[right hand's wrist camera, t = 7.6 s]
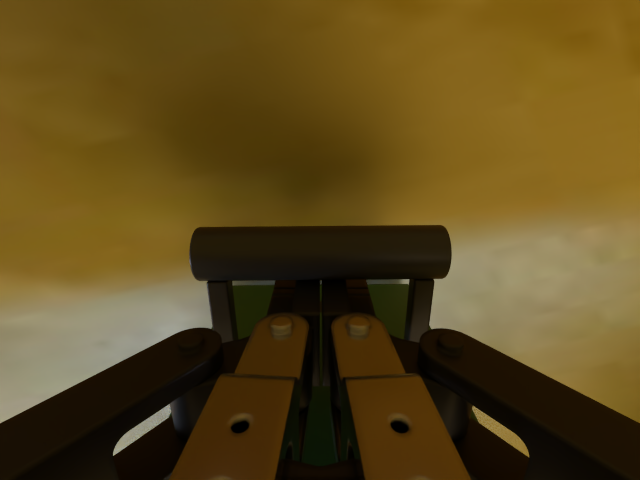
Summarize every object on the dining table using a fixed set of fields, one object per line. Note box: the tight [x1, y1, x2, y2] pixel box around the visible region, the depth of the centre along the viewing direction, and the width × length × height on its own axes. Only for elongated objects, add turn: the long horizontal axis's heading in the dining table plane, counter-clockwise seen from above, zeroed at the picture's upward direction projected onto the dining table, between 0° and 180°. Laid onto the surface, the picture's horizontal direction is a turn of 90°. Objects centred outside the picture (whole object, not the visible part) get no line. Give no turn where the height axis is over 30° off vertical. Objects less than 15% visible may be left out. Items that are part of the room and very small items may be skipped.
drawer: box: [169, 225, 479, 466], centre depth 15 cm, size 21×9×10 cm, turn 0°
